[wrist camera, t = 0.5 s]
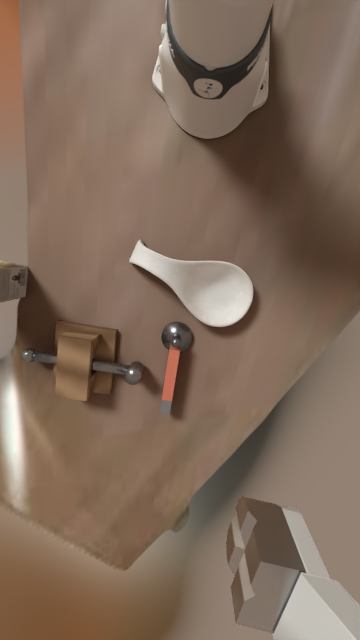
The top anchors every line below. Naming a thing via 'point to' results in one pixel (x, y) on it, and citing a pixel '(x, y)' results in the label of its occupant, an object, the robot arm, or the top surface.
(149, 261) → the spoon rest
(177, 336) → the lever base
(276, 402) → the top surface
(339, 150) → the top surface
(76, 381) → the eye block
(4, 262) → the coffee box
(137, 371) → the hook rod
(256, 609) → the robot arm
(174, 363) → the latch lever
